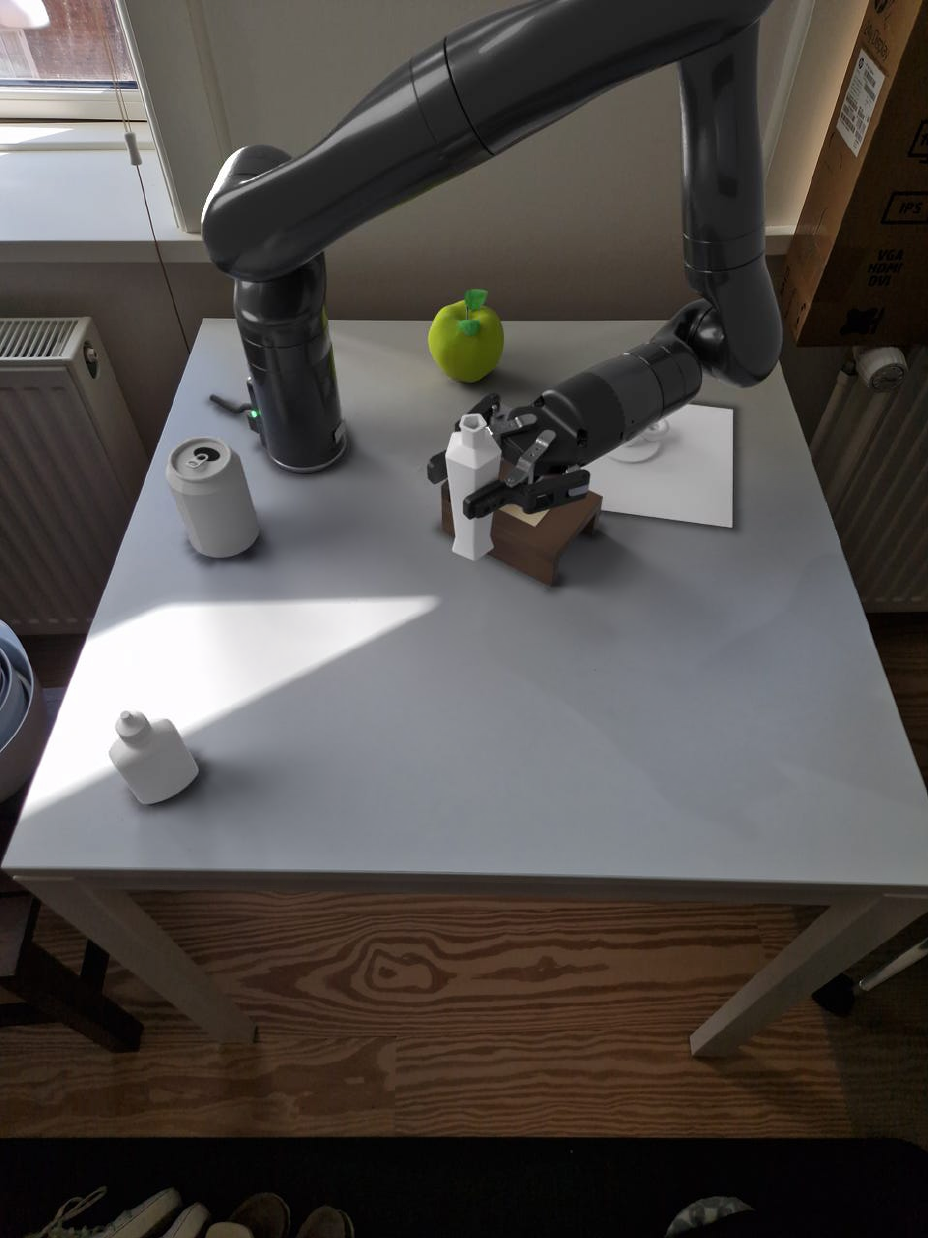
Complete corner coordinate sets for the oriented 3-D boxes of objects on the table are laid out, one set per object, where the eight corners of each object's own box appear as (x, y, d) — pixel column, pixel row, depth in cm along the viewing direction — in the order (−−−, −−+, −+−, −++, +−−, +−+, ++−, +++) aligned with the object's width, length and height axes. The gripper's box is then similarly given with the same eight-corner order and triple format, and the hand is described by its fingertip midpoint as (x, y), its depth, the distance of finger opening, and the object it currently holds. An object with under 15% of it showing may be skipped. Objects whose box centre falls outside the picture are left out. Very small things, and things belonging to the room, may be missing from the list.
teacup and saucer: (668, 424, 104) (674, 397, 101) (664, 469, 100) (671, 443, 96) (596, 415, 105) (600, 388, 102) (589, 459, 100) (594, 433, 97)
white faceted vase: (492, 567, 78) (497, 446, 66) (446, 559, 78) (441, 438, 66) (501, 529, 80) (507, 406, 68) (456, 522, 81) (453, 399, 69)
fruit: (508, 356, 112) (512, 287, 104) (492, 402, 107) (495, 333, 99) (441, 346, 113) (439, 277, 105) (422, 390, 108) (418, 321, 100)
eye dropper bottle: (138, 762, 77) (91, 694, 68) (201, 756, 78) (163, 687, 68) (133, 807, 75) (84, 743, 65) (198, 800, 75) (158, 735, 66)
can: (274, 524, 95) (252, 442, 85) (236, 572, 91) (209, 492, 81) (217, 503, 96) (190, 421, 87) (178, 549, 92) (144, 468, 83)
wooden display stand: (441, 530, 94) (440, 485, 88) (491, 477, 99) (493, 431, 93) (551, 587, 89) (557, 543, 84) (597, 528, 94) (606, 482, 89)
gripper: (551, 336, 78) (396, 411, 72) (662, 420, 71) (500, 512, 65) (546, 401, 84) (402, 475, 78) (647, 484, 77) (498, 573, 71)
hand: (448, 491), depth 72 cm, fingers closed on white faceted vase, 4 cm apart
